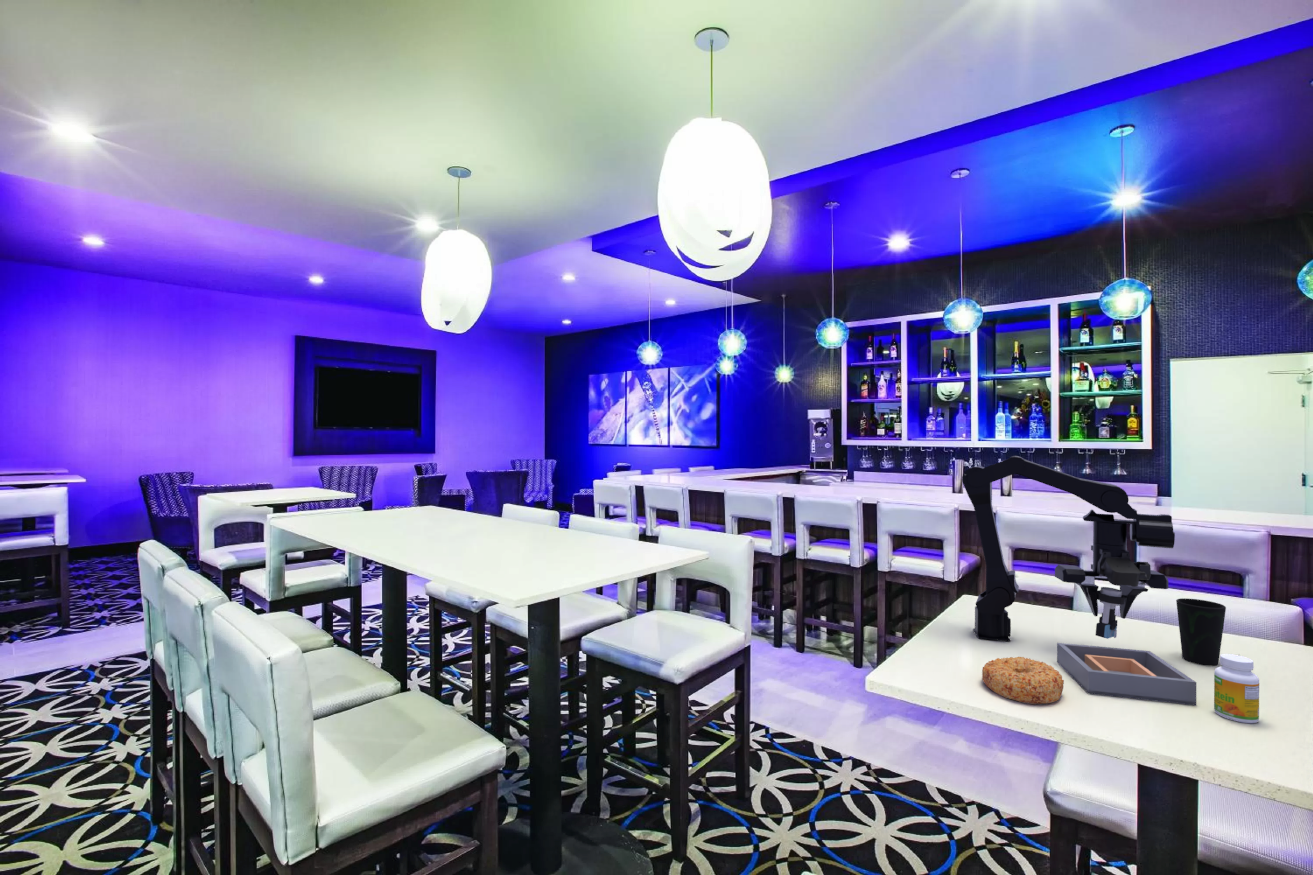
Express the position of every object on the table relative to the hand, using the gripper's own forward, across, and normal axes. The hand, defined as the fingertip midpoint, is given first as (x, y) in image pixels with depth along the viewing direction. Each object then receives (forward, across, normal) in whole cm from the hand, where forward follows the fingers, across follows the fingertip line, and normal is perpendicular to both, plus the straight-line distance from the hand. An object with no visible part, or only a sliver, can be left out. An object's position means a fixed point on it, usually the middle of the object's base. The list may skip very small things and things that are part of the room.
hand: (1109, 616), depth 128 cm
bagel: (+9, -23, -26) cm, 36 cm away
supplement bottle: (+8, +8, -27) cm, 29 cm away
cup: (+8, +17, +2) cm, 19 cm away
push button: (+4, 0, 0) cm, 4 cm away
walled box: (+8, -4, -16) cm, 18 cm away
